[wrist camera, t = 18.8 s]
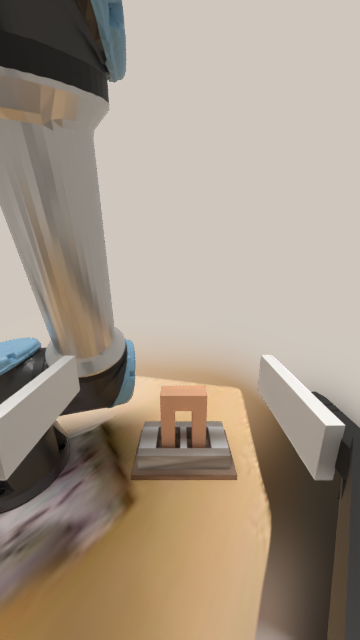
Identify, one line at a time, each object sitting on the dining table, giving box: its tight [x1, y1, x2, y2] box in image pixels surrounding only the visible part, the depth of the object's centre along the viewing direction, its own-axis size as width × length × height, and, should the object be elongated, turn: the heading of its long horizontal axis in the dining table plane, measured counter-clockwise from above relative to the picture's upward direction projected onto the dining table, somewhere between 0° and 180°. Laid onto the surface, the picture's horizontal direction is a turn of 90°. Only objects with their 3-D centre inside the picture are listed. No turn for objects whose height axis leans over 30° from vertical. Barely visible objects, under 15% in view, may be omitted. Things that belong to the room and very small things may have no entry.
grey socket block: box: [131, 421, 237, 480], centre depth 39 cm, size 10×18×4 cm, turn 90°
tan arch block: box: [160, 386, 207, 448], centre depth 38 cm, size 3×8×13 cm, turn 90°
